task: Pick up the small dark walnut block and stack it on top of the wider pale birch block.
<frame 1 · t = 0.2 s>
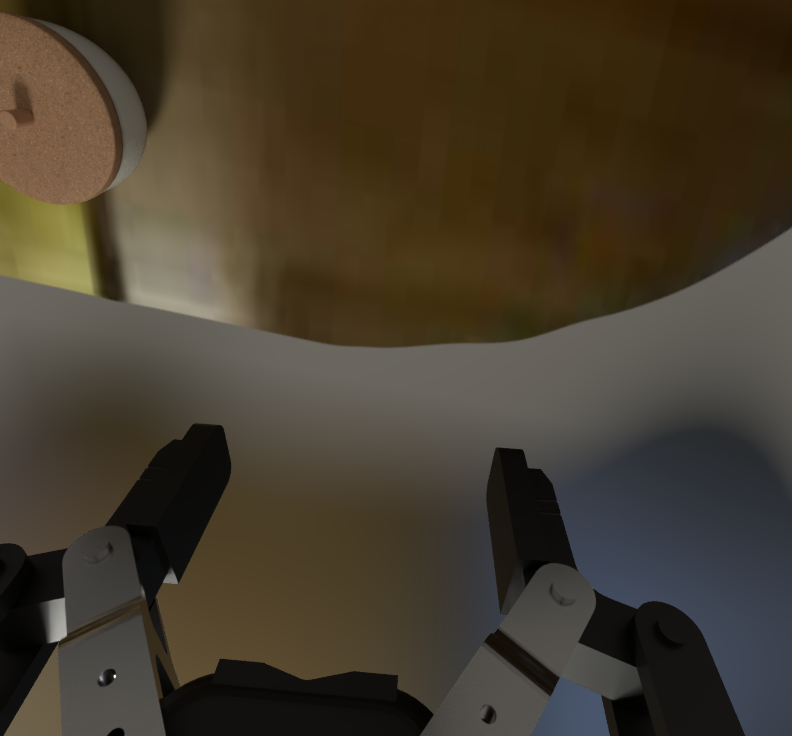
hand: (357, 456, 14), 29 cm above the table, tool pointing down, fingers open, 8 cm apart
lidded jar: (103, 108, 35), on the table
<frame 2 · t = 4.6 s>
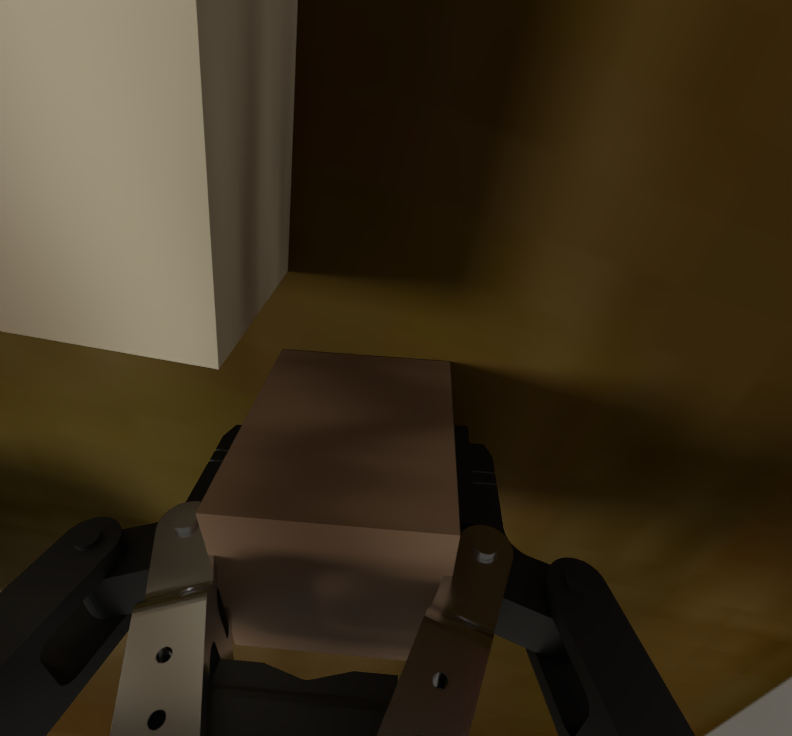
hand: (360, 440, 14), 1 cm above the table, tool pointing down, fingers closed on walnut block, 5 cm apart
walnut block: (365, 420, 15), on the table, touching gripper
birch block: (90, 33, 10), on the table
when the fingers open (7 cm above the table, at t = 10.4 s): walnut block drops 1 cm, point 5 cm above the table.
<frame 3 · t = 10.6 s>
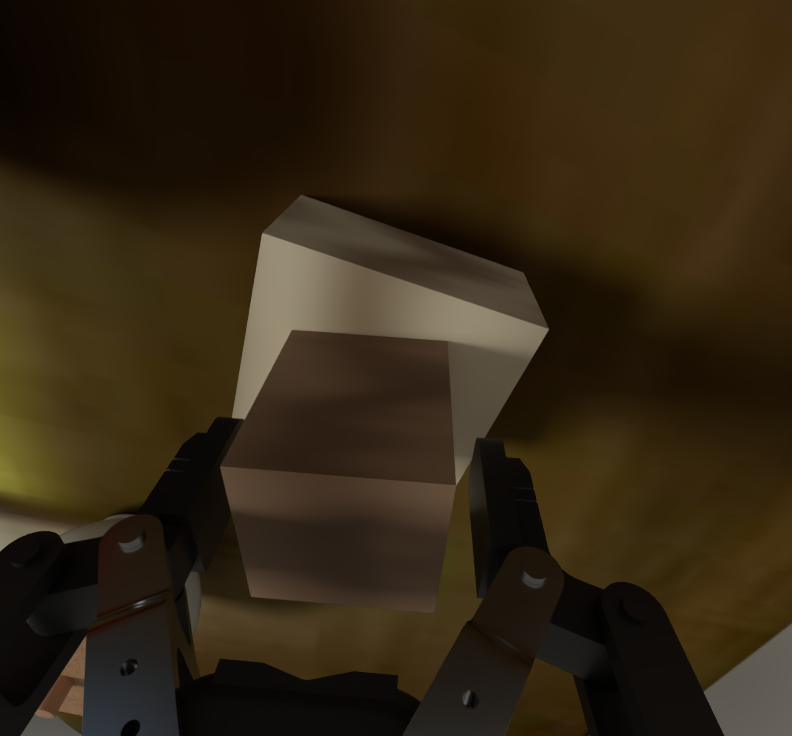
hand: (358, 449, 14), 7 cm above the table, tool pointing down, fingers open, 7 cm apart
lidded jar: (147, 541, 30), on the table
walnut block: (368, 397, 16), point 5 cm above the table
birch block: (381, 328, 20), on the table
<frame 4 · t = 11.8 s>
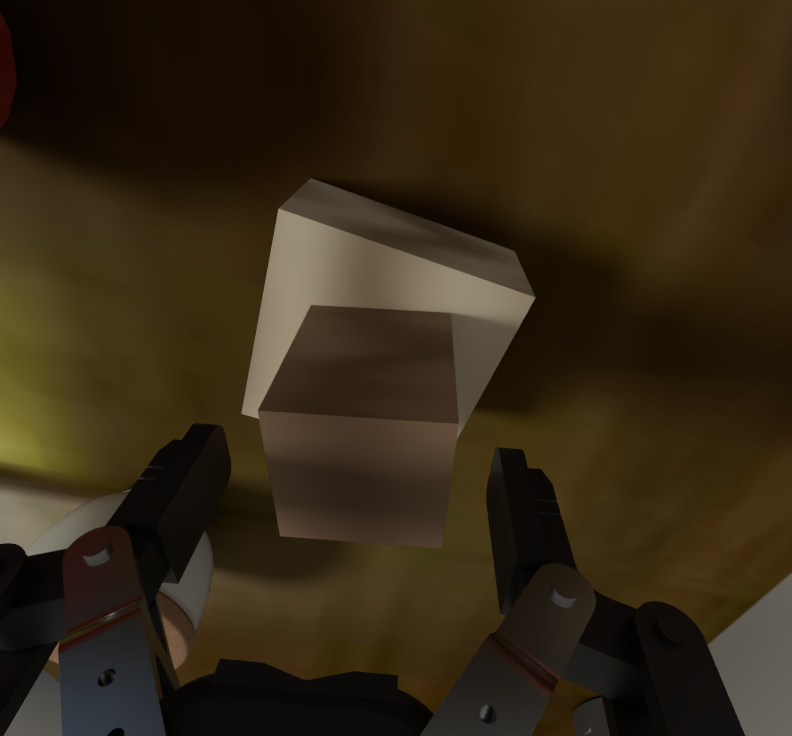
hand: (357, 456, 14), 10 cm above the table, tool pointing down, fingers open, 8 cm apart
lidded jar: (160, 515, 32), on the table
walnut block: (379, 367, 18), point 5 cm above the table, touching birch block
birch block: (383, 304, 22), on the table, touching walnut block
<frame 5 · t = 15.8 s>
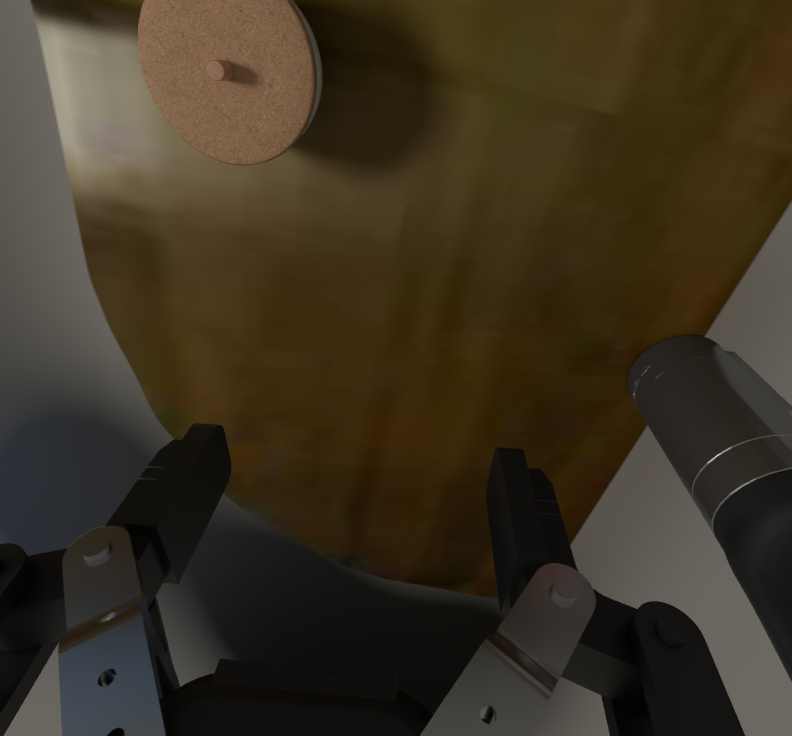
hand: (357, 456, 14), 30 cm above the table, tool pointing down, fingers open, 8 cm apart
lidded jar: (266, 69, 34), on the table
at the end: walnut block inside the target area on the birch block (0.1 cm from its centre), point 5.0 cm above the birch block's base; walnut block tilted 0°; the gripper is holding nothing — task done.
